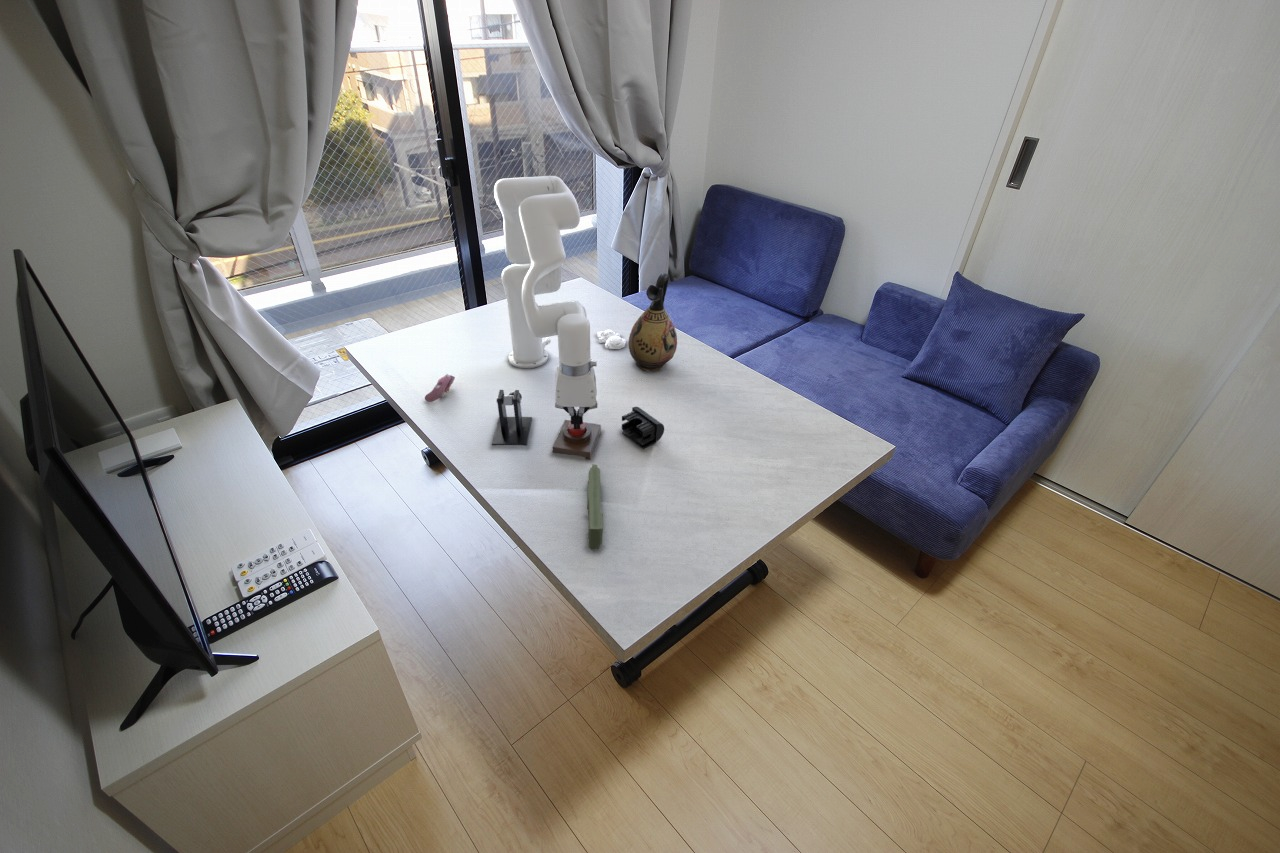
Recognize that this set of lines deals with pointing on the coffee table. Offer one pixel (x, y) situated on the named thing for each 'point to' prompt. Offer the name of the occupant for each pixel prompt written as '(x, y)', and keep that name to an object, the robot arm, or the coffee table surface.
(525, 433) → the switch bracket
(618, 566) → the coffee table surface
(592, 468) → the handheld radio
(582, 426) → the button
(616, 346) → the white fluffy lump
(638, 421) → the end cap
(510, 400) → the switch lever
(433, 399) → the video game controller
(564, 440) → the button box
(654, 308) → the ceramic jug
